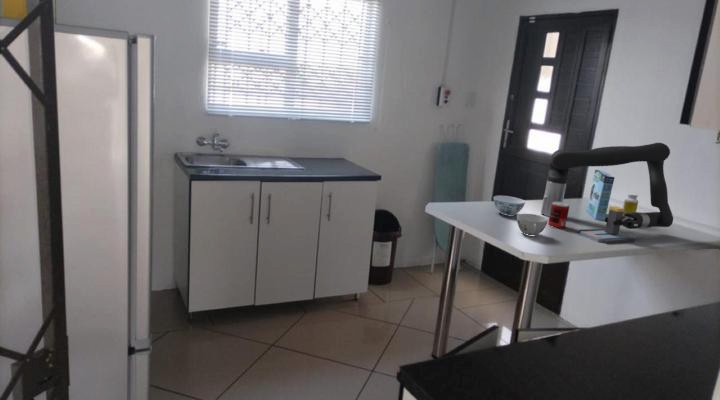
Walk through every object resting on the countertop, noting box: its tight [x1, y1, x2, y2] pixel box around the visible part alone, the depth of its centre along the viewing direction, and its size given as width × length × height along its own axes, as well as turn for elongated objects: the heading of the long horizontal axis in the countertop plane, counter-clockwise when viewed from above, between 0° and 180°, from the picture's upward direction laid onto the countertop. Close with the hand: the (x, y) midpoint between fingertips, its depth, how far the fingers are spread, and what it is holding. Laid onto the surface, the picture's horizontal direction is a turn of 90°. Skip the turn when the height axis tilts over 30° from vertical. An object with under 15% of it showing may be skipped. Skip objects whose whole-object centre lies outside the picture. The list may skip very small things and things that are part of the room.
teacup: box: [516, 213, 549, 236], centre depth 222 cm, size 15×12×8 cm
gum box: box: [585, 169, 615, 222], centre depth 270 cm, size 20×5×23 cm, turn 170°
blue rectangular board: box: [579, 230, 634, 243], centre depth 232 cm, size 22×10×2 cm, turn 114°
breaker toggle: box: [604, 206, 624, 234], centre depth 232 cm, size 4×4×12 cm
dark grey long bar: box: [603, 237, 637, 245], centre depth 226 cm, size 18×1×1 cm, turn 114°
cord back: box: [578, 228, 605, 234], centre depth 239 cm, size 18×1×1 cm, turn 114°
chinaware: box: [493, 195, 526, 216], centre depth 255 cm, size 15×15×8 cm
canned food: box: [547, 201, 570, 229], centre depth 242 cm, size 8×8×11 cm
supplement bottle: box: [622, 192, 639, 216], centre depth 275 cm, size 7×7×13 cm
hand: (609, 221), depth 231 cm, fingers closed on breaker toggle, 4 cm apart
